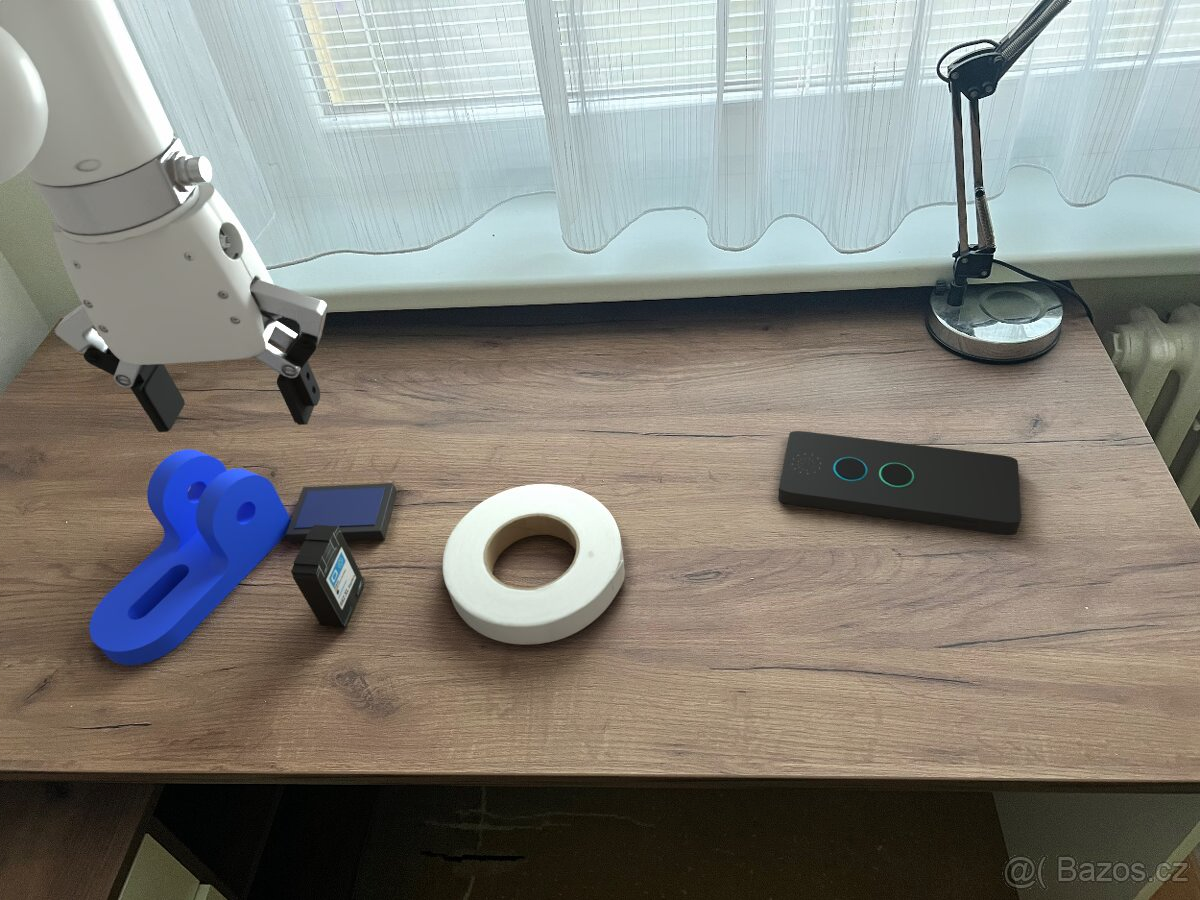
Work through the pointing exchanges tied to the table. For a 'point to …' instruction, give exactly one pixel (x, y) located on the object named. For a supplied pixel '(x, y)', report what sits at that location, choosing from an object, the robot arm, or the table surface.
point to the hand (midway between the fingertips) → (240, 414)
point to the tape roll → (545, 606)
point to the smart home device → (902, 482)
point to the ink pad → (344, 511)
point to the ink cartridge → (328, 576)
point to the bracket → (189, 555)
